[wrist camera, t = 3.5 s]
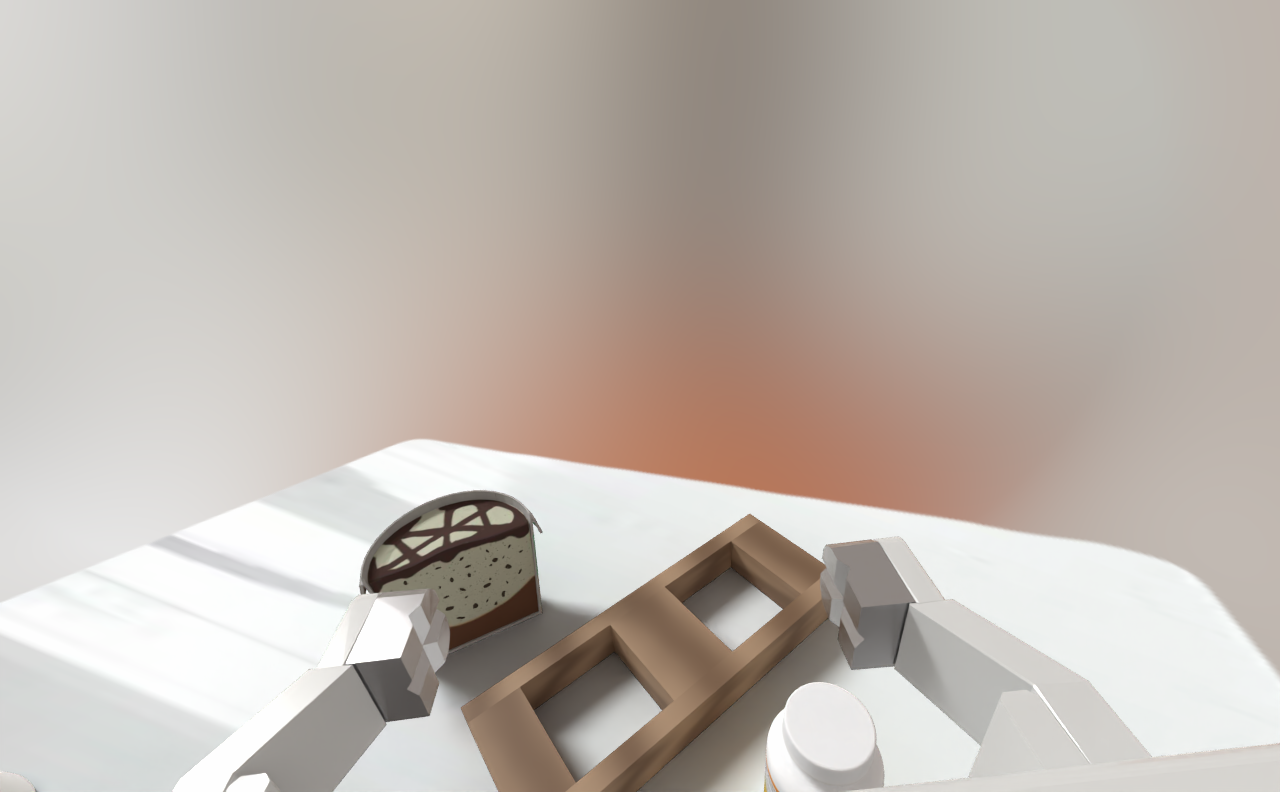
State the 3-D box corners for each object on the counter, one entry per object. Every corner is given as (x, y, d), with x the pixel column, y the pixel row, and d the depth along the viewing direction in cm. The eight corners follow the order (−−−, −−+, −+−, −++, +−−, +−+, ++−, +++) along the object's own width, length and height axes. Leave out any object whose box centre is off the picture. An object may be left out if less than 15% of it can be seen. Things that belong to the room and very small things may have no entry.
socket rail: (538, 880, 28) (528, 854, 26) (472, 734, 34) (460, 707, 33) (841, 605, 40) (845, 578, 39) (749, 539, 47) (749, 513, 46)
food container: (538, 555, 48) (516, 466, 43) (560, 605, 43) (537, 511, 38) (394, 613, 43) (351, 522, 38) (399, 675, 38) (351, 580, 34)
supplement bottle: (839, 761, 31) (858, 658, 26) (886, 876, 26) (920, 777, 22) (750, 776, 31) (753, 676, 26) (782, 897, 26) (793, 800, 21)
